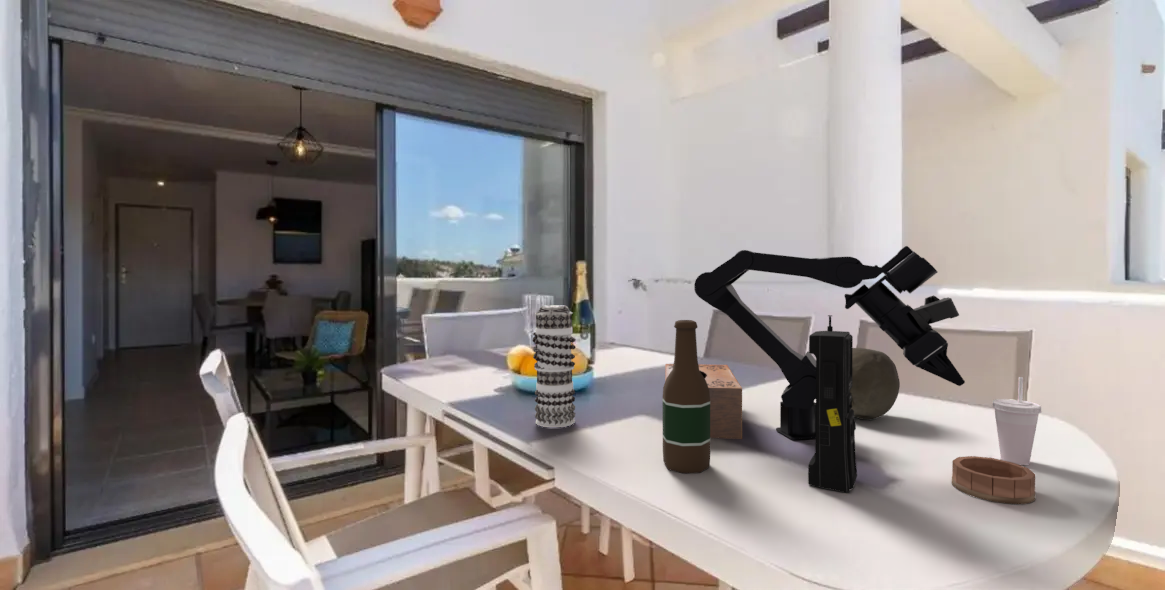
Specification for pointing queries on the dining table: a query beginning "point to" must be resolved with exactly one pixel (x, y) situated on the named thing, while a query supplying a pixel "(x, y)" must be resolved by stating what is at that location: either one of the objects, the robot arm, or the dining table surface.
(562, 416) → the decorative candle
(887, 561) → the dining table surface
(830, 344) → the portable radio
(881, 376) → the round brown rock
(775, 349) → the robot arm
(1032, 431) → the smoothie
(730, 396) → the tissue box cover
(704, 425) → the beer bottle
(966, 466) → the round brown planter pot
